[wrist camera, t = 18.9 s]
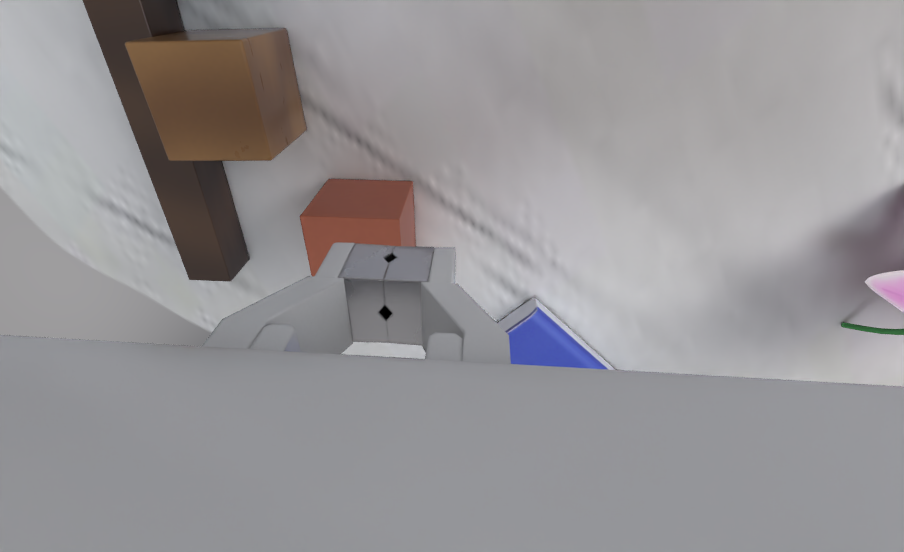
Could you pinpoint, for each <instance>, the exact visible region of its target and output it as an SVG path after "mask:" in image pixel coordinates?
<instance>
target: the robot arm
mask: <svg viewBox="0 0 904 552" xmlns="http://www.w3.org/2000/svg"><path fill="white" fill-rule="evenodd" d="M455 267H456V249H455V247H435V248H434V247H412V246H390V245H375V244H360V243H356V244H355V243H342V242H336V243H334V244H333V245H332V246H331V248H330V250H329V252H328V253H327V255H326V257H325V259H324V260H323V262H322V264H321V266H320V267H319V269H318V271H317V273H316V274H315V276H308V277H306V278H304V279H302V280H300V281H298V282H296V283H294V284H292V285H290V286H288V287H286V288H284V289H282V290H280V291H278V292H276V293H274V294H272V295H270V296H268V297H266V298H264V299H262V300H260V301H258V302H256V303H254V304H252V305H250V306H248V307H246V308H244V309H242V310H240V311H238V312H236V313H234V314H232V315H230V316H228V317H226V318H224V319H222V320H221V322H220V323H219V324H218V326H217V327H216V328H215V329H214V331H213V332H212V333H211V335H210V336H209V337H208V339H207V340H206V341H205V343H204V344H203V345H202V346H186V345H169V344H151V343H134V342H114V341H99V340H81V339H79V340H78V339H63V338H46V337H29V336H11V335H0V552H904V387H903V386H885V385H868V384H850V383H832V382H814V381H797V380H780V379H763V378H745V377H728V376H711V375H693V374H676V373H659V372H641V371H624V370H607V369H589V368H572V367H554V366H537V365H519V364H511V359H510V344H509V335H508V334H507V333H506V332H505V331H504V330H503V329H502V328H501V327H500V326H499V325H498V324H497V323H496V322H495V321H494V320H493V319H492V318H491V317H490V316H489V315H488V314H487V313H486V312H485V311H484V310H483V309H482V308H481V307H480V306H479V305H478V304H477V303H476V302H475V301H474V300H473V299H472V298H471V297H470V296H469V295H468V294H467V293H466V292H465V291H464V290H463V289H462V288H461V287H460V286H459V285H458V284H455ZM353 342H383V343H398V344H410V345H422V346H423V349H424V350H425V352H426V356H425V359H414V358H396V357H379V356H361V355H344V354H341V353H342V352H343V351H345V350H346V349H347V348H348V347H349V346H350V345H351V344H353Z"/></svg>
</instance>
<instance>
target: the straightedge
mask: <svg viewBox="0 0 904 552" xmlns="http://www.w3.org/2000/svg"><path fill="white" fill-rule="evenodd" d="M83 3H84V5H85V8H86V11H87V13H88V16H89V18H90V21H91V24H92V26H93V29H94V31H95V34H96V37H97V39H98V42H99V44H100V47H101V50H102V52H103V55H104V58H105V60H106V63H107V65H108V68H109V71H110V73H111V76H112V78H113V81H114V84H115V86H116V89H117V92H118V94H119V97H120V99H121V102H122V105H123V107H124V110H125V112H126V115H127V118H128V120H129V123H130V125H131V128H132V131H133V133H134V136H135V139H136V141H137V144H138V146H139V149H140V152H141V154H142V157H143V159H144V162H145V165H146V167H147V170H148V173H149V175H150V178H151V180H152V183H153V186H154V188H155V191H156V193H157V196H158V199H159V201H160V204H161V206H162V209H163V212H164V214H165V217H166V220H167V222H168V225H169V227H170V230H171V233H172V235H173V238H174V240H175V243H176V246H177V248H178V251H179V254H180V256H181V259H182V261H183V264H184V267H185V269H186V272H187V274H188V277H189V279H190V280H209V281H232V279H233V278H234V277H235V276H236V275H237V273H238V272H239V271H240V270H241V269H242V267H243V266H244V265H245V264H246V263H247V261H248V260H249V256H248V252H247V249H246V245H245V242H244V238H243V235H242V231H241V228H240V224H239V221H238V217H237V214H236V210H235V207H234V203H233V200H232V196H231V193H230V189H229V186H228V182H227V179H226V175H225V172H224V168H223V165H222V161H170V160H169V159H168V157H167V154H166V151H165V149H164V146H163V143H162V141H161V138H160V136H159V133H158V130H157V128H156V125H155V122H154V120H153V117H152V115H151V112H150V109H149V107H148V104H147V101H146V99H145V96H144V93H143V91H142V88H141V86H140V83H139V80H138V78H137V75H136V72H135V70H134V67H133V65H132V62H131V59H130V57H129V54H128V51H127V49H126V46H125V42H128V41H133V40H139V39H144V38H150V37H155V36H161V35H166V34H172V33H177V32H183V31H184V28H183V25H182V21H181V17H180V14H179V10H178V7H177V3H176V0H83Z"/></svg>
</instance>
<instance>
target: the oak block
mask: <svg viewBox="0 0 904 552" xmlns="http://www.w3.org/2000/svg"><path fill="white" fill-rule="evenodd" d="M125 46H126V49H127V51H128V54H129V57H130V59H131V62H132V65H133V67H134V70H135V72H136V75H137V78H138V80H139V83H140V86H141V88H142V91H143V93H144V96H145V99H146V101H147V104H148V107H149V109H150V112H151V115H152V117H153V120H154V122H155V125H156V128H157V130H158V133H159V136H160V138H161V141H162V143H163V146H164V149H165V151H166V154H167V157H168V159H169V160H170V161H252V160H272V159H274V158H275V157H276V156H277V155H278V154H279V153H281V152H282V151H283V150H284V149H285V148H286V147H288V146H289V145H290V144H291V143H292V142H293V141H295V140H296V139H297V138H298V137H299V136H300V135H302V134H303V133H304V132H305V131H306V124H305V119H304V114H303V109H302V104H301V99H300V94H299V89H298V84H297V79H296V74H295V69H294V64H293V59H292V54H291V49H290V44H289V39H288V34H287V30H286V29H285V28H263V29H219V30H189V31H183V32H177V33H172V34H166V35H161V36H155V37H150V38H144V39H139V40H133V41H128V42H125Z"/></svg>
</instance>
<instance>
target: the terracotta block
mask: <svg viewBox="0 0 904 552" xmlns="http://www.w3.org/2000/svg"><path fill="white" fill-rule="evenodd" d="M300 220H301V225H302V230H303V235H304V240H305V245H306V250H307V255H308V260H309V265H310V270H311V275H312V276H315V274H316V273H317V271H318V269H319V267H320V266H321V264H322V262H323V260H324V259H325V257H326V255H327V253H328V252H329V250H330V248H331V246H332V245H333V244H334V243H336V242H342V243H355V244H356V243H360V244H375V245H390V246H412V247H416V239H415V216H414V194H413V181H386V180H352V179H328V180H327V182H326V183H325V184H324V186H323V187H322V188H321V189H320V191H319V192H318V193H317V195H316V196H315V197H314V198H313V200H312V201H311V202H310V204H309V205H308V206H307V207H306V209H305V210H304V211H303V213H302V214H301V215H300Z"/></svg>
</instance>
